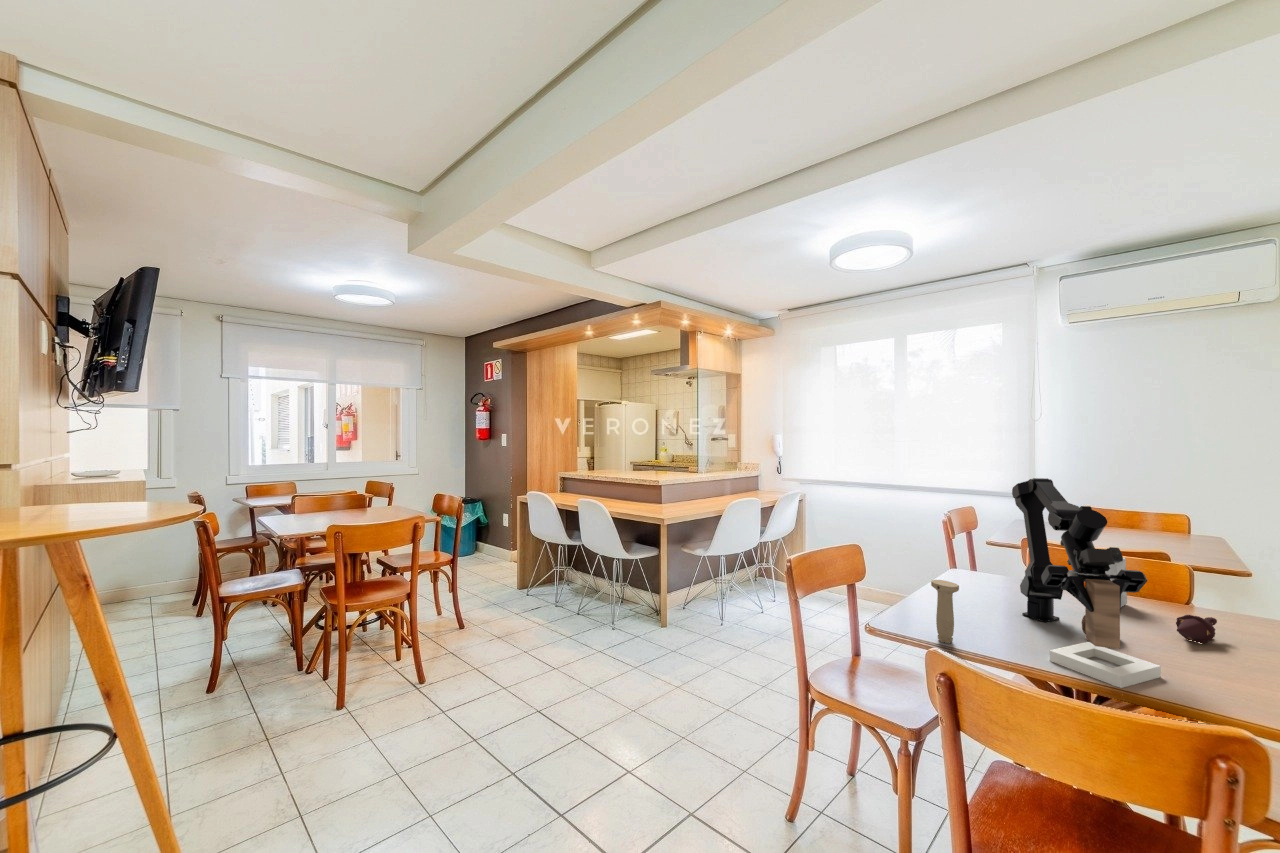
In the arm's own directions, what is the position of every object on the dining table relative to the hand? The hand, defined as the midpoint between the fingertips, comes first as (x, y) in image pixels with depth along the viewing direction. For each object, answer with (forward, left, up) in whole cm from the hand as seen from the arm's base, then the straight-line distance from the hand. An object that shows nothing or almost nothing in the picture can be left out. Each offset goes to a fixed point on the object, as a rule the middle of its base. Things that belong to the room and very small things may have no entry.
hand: (1105, 612), depth 119 cm
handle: (+19, -25, -13) cm, 34 cm away
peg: (-1, -1, -8) cm, 8 cm away
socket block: (-1, -1, -13) cm, 13 cm away
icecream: (-41, -2, -14) cm, 43 cm away
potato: (-21, -13, -14) cm, 28 cm away
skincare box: (-54, -28, -14) cm, 62 cm away
